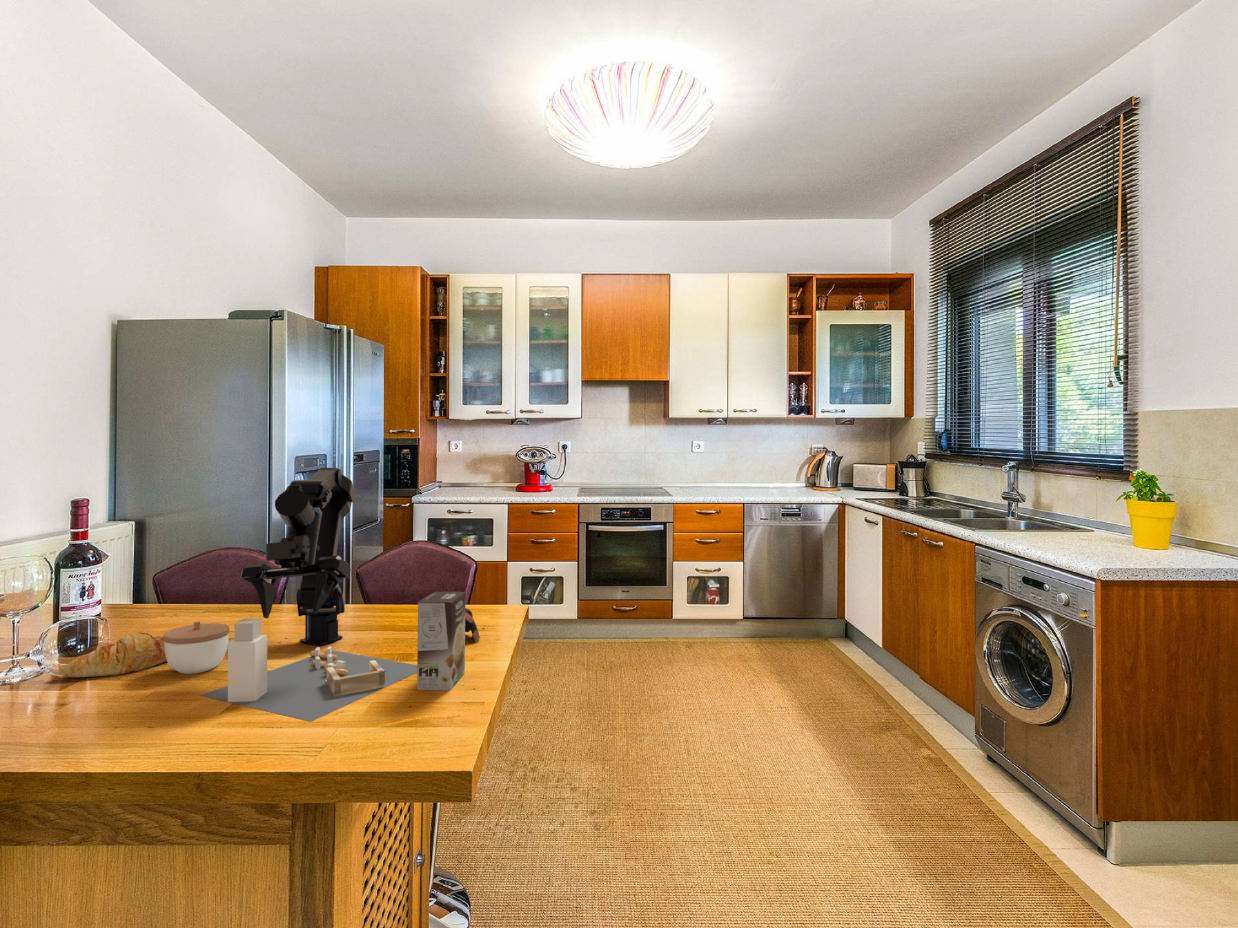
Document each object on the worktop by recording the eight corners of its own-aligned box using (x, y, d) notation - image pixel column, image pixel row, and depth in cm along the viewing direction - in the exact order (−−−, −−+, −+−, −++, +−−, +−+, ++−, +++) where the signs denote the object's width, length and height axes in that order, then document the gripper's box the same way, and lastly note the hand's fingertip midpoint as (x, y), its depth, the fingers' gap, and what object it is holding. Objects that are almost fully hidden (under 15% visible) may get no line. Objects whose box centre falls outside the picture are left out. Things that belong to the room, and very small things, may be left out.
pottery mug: (477, 649, 142) (457, 618, 140) (440, 665, 144) (421, 635, 142) (490, 621, 154) (473, 592, 152) (457, 636, 155) (439, 608, 153)
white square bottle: (240, 692, 113) (240, 617, 113) (267, 691, 114) (267, 617, 113) (228, 701, 109) (227, 624, 109) (255, 701, 109) (255, 624, 109)
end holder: (325, 681, 119) (325, 666, 119) (373, 673, 123) (373, 658, 123) (334, 696, 112) (334, 680, 112) (385, 686, 116) (385, 671, 116)
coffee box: (451, 692, 115) (452, 602, 115) (416, 691, 115) (416, 601, 115) (465, 674, 124) (466, 591, 124) (432, 673, 125) (432, 590, 124)
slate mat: (199, 697, 112) (199, 695, 112) (330, 651, 137) (330, 649, 137) (310, 723, 101) (310, 721, 101) (429, 669, 127) (429, 666, 127)
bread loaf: (62, 703, 117) (65, 669, 115) (51, 667, 123) (54, 633, 120) (196, 671, 133) (202, 641, 131) (181, 640, 139) (186, 610, 136)
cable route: (305, 656, 133) (305, 646, 133) (332, 652, 136) (332, 642, 136) (319, 680, 119) (319, 669, 119) (348, 675, 122) (348, 664, 122)
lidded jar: (207, 658, 133) (207, 612, 132) (241, 666, 128) (241, 618, 128) (150, 674, 123) (150, 624, 123) (184, 683, 118) (184, 632, 118)
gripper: (231, 526, 122) (215, 608, 114) (331, 516, 122) (321, 596, 114) (263, 548, 132) (249, 624, 124) (355, 538, 132) (346, 614, 124)
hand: (290, 615), depth 121 cm, fingers open, 9 cm apart
